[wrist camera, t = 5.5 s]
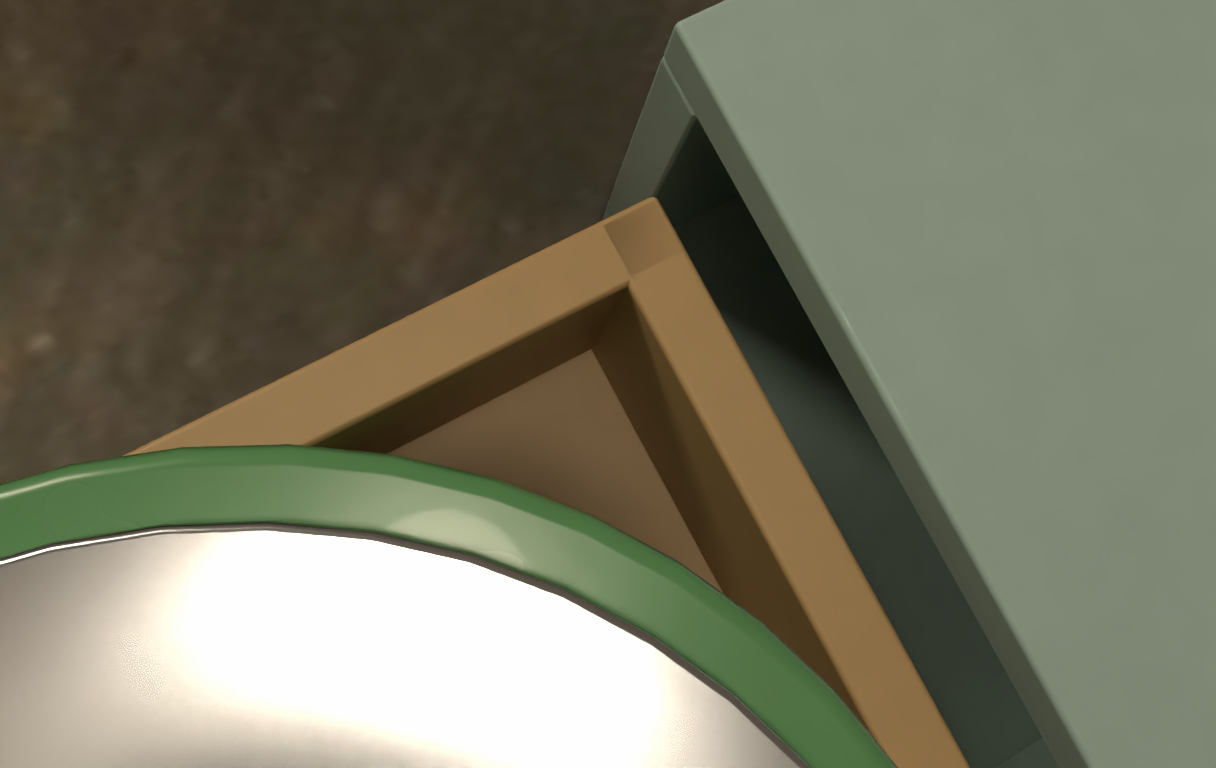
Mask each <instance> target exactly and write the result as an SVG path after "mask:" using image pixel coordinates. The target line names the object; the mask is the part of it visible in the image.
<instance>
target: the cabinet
mask: <svg viewBox="0 0 1216 768" xmlns="http://www.w3.org/2000/svg"><path fill="white" fill-rule="evenodd" d="M649 197H655V198H656V199H658V201H659V202H660V204H661V206H662V208H663V210H664V211H665V213H666V215H667V217H668V219H669V221H670V222H671V224H672V226H673V228H674V230H675V231H676V233H677V235H678V237H679V239H680V241H681V242H682V244H683V246H684V248H685V250H686V252H687V253H688V255H689V257H690V259H691V261H692V263H693V264H694V266H695V268H696V270H697V272H698V273H699V275H700V277H701V279H702V281H703V283H704V284H705V286H706V288H707V290H708V292H709V293H710V295H711V297H712V299H713V301H714V303H715V304H716V306H717V308H718V310H719V312H720V313H721V315H722V317H723V319H724V321H725V323H726V324H727V326H728V328H729V330H730V332H731V333H732V335H733V337H734V339H735V341H736V343H737V344H738V346H739V348H740V350H741V352H742V353H743V355H744V357H745V359H746V361H747V363H748V364H749V366H750V368H751V370H752V372H753V373H754V375H755V377H756V379H757V381H758V383H759V384H760V386H761V388H762V390H763V392H764V393H765V395H766V397H767V399H768V401H769V402H770V404H771V406H772V408H773V410H774V412H775V413H776V415H777V417H778V419H779V421H780V422H781V424H782V426H783V428H784V430H785V432H786V433H787V435H788V437H789V439H790V441H791V442H792V444H793V446H794V448H795V450H796V452H797V453H798V455H799V457H800V459H801V461H802V462H803V464H804V466H805V468H806V470H807V472H808V473H809V475H810V477H811V479H812V481H813V482H814V484H815V486H816V488H817V490H818V492H819V493H820V495H821V497H822V499H823V501H824V502H825V504H826V506H827V508H828V510H829V512H830V513H831V515H832V517H833V519H834V521H835V522H836V524H837V526H838V528H839V530H840V532H841V533H842V535H843V537H844V539H845V541H846V542H847V544H848V546H849V548H850V550H851V552H852V553H853V555H854V557H855V559H856V561H857V562H858V564H859V566H860V568H861V570H862V572H863V573H864V575H865V577H866V579H867V581H868V582H869V584H870V586H871V588H872V590H873V592H874V593H875V595H876V597H877V599H878V601H879V602H880V604H881V606H882V608H883V610H884V612H885V613H886V615H887V617H888V619H889V621H890V622H891V624H892V626H893V628H894V630H895V632H896V633H897V635H898V637H899V639H900V641H901V642H902V644H903V646H904V648H905V650H906V652H907V653H908V655H909V657H910V659H911V661H912V662H913V664H914V666H915V668H916V670H917V671H918V673H919V675H920V677H921V679H922V681H923V682H924V684H925V686H926V688H927V690H928V691H929V693H930V695H931V697H932V699H933V701H934V702H935V704H936V706H937V708H938V710H939V711H940V713H941V715H942V717H943V719H944V721H945V722H946V724H947V726H948V728H949V730H950V731H951V733H952V735H953V737H954V739H955V741H956V742H957V744H958V746H959V748H960V750H961V751H962V753H963V755H964V757H965V759H966V761H967V762H968V764H969V766H970V768H1216V0H725V1H722V2H720V3H718V4H716V5H714V6H712V7H709V8H707V9H705V10H703V11H701V12H699V13H696V14H694V15H692V16H690V17H688V18H685V19H683V20H681V21H679V22H678V23H677V24H676V25H675V26H674V29H673V31H672V34H671V37H670V39H669V42H668V45H667V47H666V50H665V53H664V57H663V58H662V59H661V61H660V64H659V67H658V69H657V72H656V75H655V77H654V80H653V83H652V85H651V88H650V91H649V93H648V96H647V99H646V101H645V104H644V107H643V110H642V112H641V115H640V118H639V120H638V123H637V126H636V128H635V131H634V134H633V136H632V139H631V142H630V144H629V147H628V150H627V152H626V155H625V158H624V160H623V163H622V166H621V169H620V171H619V174H618V177H617V179H616V182H615V185H614V187H613V190H612V193H611V195H610V198H609V201H608V203H607V206H606V210H605V212H604V215H603V218H602V220H604V219H606V218H608V217H610V216H612V215H615V214H617V213H619V212H621V211H623V210H625V209H627V208H629V207H631V206H633V205H635V204H637V203H639V202H641V201H643V200H645V199H647V198H649ZM602 220H601V221H602Z"/></svg>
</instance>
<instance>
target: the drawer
mask: <svg viewBox="0 0 1216 768" xmlns="http://www.w3.org/2000/svg"><path fill="white" fill-rule="evenodd" d="M279 444H294V445H304V446H314V447H324V448H333V449H343V450H353V451H363V452H373V453H383V454H393V455H399V456H403V457H407V458H411V459H416V460H420V461H424V462H428V463H433V464H437V465H441V466H445V467H450V468H454V469H458V470H463V471H467V472H471V473H475V474H480V475H484V476H488V477H492V478H496V479H499V480H502V481H504V482H507V483H510V484H512V485H515V486H518V487H520V488H523V489H525V490H528V491H531V492H533V493H536V494H539V495H541V496H544V497H547V498H549V499H552V500H555V501H557V502H560V503H562V504H565V505H568V506H570V507H573V508H576V509H578V510H581V511H584V512H586V513H589V514H591V515H593V516H595V517H597V518H599V519H601V520H602V521H604V522H606V523H608V524H610V525H612V526H614V527H615V528H617V529H619V530H621V531H623V532H625V533H627V534H628V535H630V536H632V537H634V538H636V539H638V540H640V541H641V542H643V543H645V544H647V545H649V546H651V547H653V548H655V549H656V550H658V551H660V552H662V553H664V554H666V555H668V556H669V557H671V558H673V559H675V560H677V561H679V562H680V563H682V564H683V565H684V566H686V567H687V568H689V569H690V570H691V571H693V572H694V573H696V574H697V575H698V576H700V577H701V578H702V579H704V580H705V581H707V582H708V583H709V584H711V585H712V586H714V587H715V588H716V589H718V590H719V591H720V592H722V593H723V594H725V595H726V596H727V597H729V598H730V599H732V600H733V601H734V602H736V603H737V604H738V605H740V606H741V607H743V608H744V609H745V610H747V611H748V612H750V613H751V614H752V615H754V616H755V617H756V618H758V619H759V620H761V621H762V622H763V623H764V624H765V625H766V626H767V627H768V628H769V629H770V630H771V631H772V632H773V633H775V634H776V635H777V636H778V637H779V638H780V639H781V640H782V641H783V642H784V643H785V644H786V645H787V646H788V647H789V648H790V649H791V650H793V651H794V652H795V653H796V654H797V655H798V656H799V657H800V658H801V659H802V660H803V661H804V662H805V663H806V664H807V665H808V666H810V667H811V668H812V669H813V670H814V671H815V672H816V673H817V674H818V675H819V676H820V677H821V678H822V679H823V680H824V681H825V682H826V683H828V684H829V685H830V686H831V687H832V688H833V689H834V690H835V691H836V692H837V694H838V695H839V696H840V697H841V698H842V700H843V701H844V702H845V703H846V705H847V706H848V707H849V708H850V709H851V711H852V712H853V713H854V714H855V716H856V717H857V718H858V719H859V720H860V722H861V723H862V724H863V725H864V727H865V728H866V729H867V730H868V731H869V733H870V734H871V735H872V736H873V738H874V739H875V740H876V741H877V742H878V744H879V745H880V746H881V747H882V749H883V750H884V751H885V752H886V753H887V755H888V756H889V757H890V758H891V760H892V761H893V762H894V763H895V764H896V766H897V767H898V768H970V766H969V764H968V762H967V761H966V759H965V757H964V755H963V753H962V751H961V750H960V748H959V746H958V744H957V742H956V741H955V739H954V737H953V735H952V733H951V731H950V730H949V728H948V726H947V724H946V722H945V721H944V719H943V717H942V715H941V713H940V711H939V710H938V708H937V706H936V704H935V702H934V701H933V699H932V697H931V695H930V693H929V691H928V690H927V688H926V686H925V684H924V682H923V681H922V679H921V677H920V675H919V673H918V671H917V670H916V668H915V666H914V664H913V662H912V661H911V659H910V657H909V655H908V653H907V652H906V650H905V648H904V646H903V644H902V642H901V641H900V639H899V637H898V635H897V633H896V632H895V630H894V628H893V626H892V624H891V622H890V621H889V619H888V617H887V615H886V613H885V612H884V610H883V608H882V606H881V604H880V602H879V601H878V599H877V597H876V595H875V593H874V592H873V590H872V588H871V586H870V584H869V582H868V581H867V579H866V577H865V575H864V573H863V572H862V570H861V568H860V566H859V564H858V562H857V561H856V559H855V557H854V555H853V553H852V552H851V550H850V548H849V546H848V544H847V542H846V541H845V539H844V537H843V535H842V533H841V532H840V530H839V528H838V526H837V524H836V522H835V521H834V519H833V517H832V515H831V513H830V512H829V510H828V508H827V506H826V504H825V502H824V501H823V499H822V497H821V495H820V493H819V492H818V490H817V488H816V486H815V484H814V482H813V481H812V479H811V477H810V475H809V473H808V472H807V470H806V468H805V466H804V464H803V462H802V461H801V459H800V457H799V455H798V453H797V452H796V450H795V448H794V446H793V444H792V442H791V441H790V439H789V437H788V435H787V433H786V432H785V430H784V428H783V426H782V424H781V422H780V421H779V419H778V417H777V415H776V413H775V412H774V410H773V408H772V406H771V404H770V402H769V401H768V399H767V397H766V395H765V393H764V392H763V390H762V388H761V386H760V384H759V383H758V381H757V379H756V377H755V375H754V373H753V372H752V370H751V368H750V366H749V364H748V363H747V361H746V359H745V357H744V355H743V353H742V352H741V350H740V348H739V346H738V344H737V343H736V341H735V339H734V337H733V335H732V333H731V332H730V330H729V328H728V326H727V324H726V323H725V321H724V319H723V317H722V315H721V313H720V312H719V310H718V308H717V306H716V304H715V303H714V301H713V299H712V297H711V295H710V293H709V292H708V290H707V288H706V286H705V284H704V283H703V281H702V279H701V277H700V275H699V273H698V272H697V270H696V268H695V266H694V264H693V263H692V261H691V259H690V257H689V255H688V253H687V252H686V250H685V248H684V246H683V244H682V242H681V241H680V239H679V237H678V235H677V233H676V231H675V230H674V228H673V226H672V224H671V222H670V221H669V219H668V217H667V215H666V213H665V211H664V210H663V208H662V206H661V204H660V202H659V201H658V199H656V198H655V197H649V198H647V199H645V200H643V201H641V202H639V203H637V204H635V205H633V206H631V207H629V208H627V209H625V210H623V211H621V212H619V213H617V214H615V215H612V216H610V217H608V218H606V219H604V220H602V221H600V222H598V223H596V224H594V225H592V226H590V227H588V228H586V229H584V230H582V231H580V232H578V233H576V234H574V235H572V236H570V237H568V238H566V239H564V240H562V241H559V242H557V243H555V244H553V245H551V246H549V247H547V248H545V249H543V250H541V251H539V252H537V253H535V254H533V255H531V256H529V257H527V258H525V259H523V260H521V261H519V262H517V263H515V264H513V265H511V266H509V267H506V268H504V269H502V270H500V271H498V272H496V273H494V274H492V275H490V276H488V277H486V278H484V279H482V280H480V281H478V282H476V283H474V284H472V285H470V286H468V287H466V288H464V289H462V290H460V291H458V292H456V293H453V294H451V295H449V296H447V297H445V298H443V299H441V300H439V301H437V302H435V303H433V304H431V305H429V306H427V307H425V308H423V309H421V310H419V311H417V312H415V313H413V314H411V315H409V316H407V317H405V318H403V319H400V320H398V321H396V322H394V323H392V324H390V325H388V326H386V327H384V328H382V329H380V330H378V331H376V332H374V333H372V334H370V335H368V336H366V337H364V338H362V339H360V340H358V341H356V342H354V343H352V344H350V345H347V346H345V347H343V348H341V349H339V350H337V351H335V352H333V353H331V354H329V355H327V356H325V357H323V358H321V359H319V360H317V361H315V362H313V363H311V364H309V365H307V366H305V367H303V368H301V369H299V370H297V371H295V372H292V373H290V374H288V375H286V376H284V377H282V378H280V379H278V380H276V381H274V382H272V383H270V384H268V385H266V386H264V387H262V388H260V389H258V390H256V391H254V392H252V393H250V394H248V395H246V396H244V397H242V398H239V399H237V400H235V401H233V402H231V403H229V404H227V405H225V406H223V407H221V408H219V409H217V410H215V411H213V412H211V413H209V414H207V415H205V416H203V417H201V418H199V419H197V420H195V421H193V422H191V423H189V424H186V425H184V426H182V427H180V428H178V429H176V430H174V431H172V432H170V433H168V434H166V435H164V436H162V437H160V438H158V439H156V440H154V441H152V442H150V443H148V444H146V445H144V446H142V447H140V448H138V449H136V450H133V451H131V452H129V453H127V454H125V455H123V456H127V455H134V454H140V453H147V452H153V451H160V450H166V449H173V448H180V447H203V446H241V445H279Z"/></svg>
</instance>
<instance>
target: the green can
mask: <svg viewBox="0 0 1216 768" xmlns="http://www.w3.org/2000/svg"><path fill="white" fill-rule="evenodd" d="M0 768H898V767H897V766H896V764H895V763H894V762H893V761H892V760H891V758H890V757H889V756H888V755H887V753H886V752H885V751H884V750H883V749H882V747H881V746H880V745H879V744H878V742H877V741H876V740H875V739H874V738H873V736H872V735H871V734H870V733H869V731H868V730H867V729H866V728H865V727H864V725H863V724H862V723H861V722H860V720H859V719H858V718H857V717H856V716H855V714H854V713H853V712H852V711H851V709H850V708H849V707H848V706H847V705H846V703H845V702H844V701H843V700H842V698H841V697H840V696H839V695H838V694H837V692H836V691H835V690H834V689H833V688H832V687H831V686H830V685H829V684H828V683H826V682H825V681H824V680H823V679H822V678H821V677H820V676H819V675H818V674H817V673H816V672H815V671H814V670H813V669H812V668H811V667H810V666H808V665H807V664H806V663H805V662H804V661H803V660H802V659H801V658H800V657H799V656H798V655H797V654H796V653H795V652H794V651H793V650H791V649H790V648H789V647H788V646H787V645H786V644H785V643H784V642H783V641H782V640H781V639H780V638H779V637H778V636H777V635H776V634H775V633H773V632H772V631H771V630H770V629H769V628H768V627H767V626H766V625H765V624H764V623H763V622H762V621H761V620H759V619H758V618H756V617H755V616H754V615H752V614H751V613H750V612H748V611H747V610H745V609H744V608H743V607H741V606H740V605H738V604H737V603H736V602H734V601H733V600H732V599H730V598H729V597H727V596H726V595H725V594H723V593H722V592H720V591H719V590H718V589H716V588H715V587H714V586H712V585H711V584H709V583H708V582H707V581H705V580H704V579H702V578H701V577H700V576H698V575H697V574H696V573H694V572H693V571H691V570H690V569H689V568H687V567H686V566H684V565H683V564H682V563H680V562H679V561H677V560H675V559H673V558H671V557H669V556H668V555H666V554H664V553H662V552H660V551H658V550H656V549H655V548H653V547H651V546H649V545H647V544H645V543H643V542H641V541H640V540H638V539H636V538H634V537H632V536H630V535H628V534H627V533H625V532H623V531H621V530H619V529H617V528H615V527H614V526H612V525H610V524H608V523H606V522H604V521H602V520H601V519H599V518H597V517H595V516H593V515H591V514H589V513H586V512H584V511H581V510H578V509H576V508H573V507H570V506H568V505H565V504H562V503H560V502H557V501H555V500H552V499H549V498H547V497H544V496H541V495H539V494H536V493H533V492H531V491H528V490H525V489H523V488H520V487H518V486H515V485H512V484H510V483H507V482H504V481H502V480H499V479H496V478H492V477H488V476H484V475H480V474H475V473H471V472H467V471H463V470H458V469H454V468H450V467H445V466H441V465H437V464H433V463H428V462H424V461H420V460H416V459H411V458H407V457H403V456H399V455H393V454H383V453H373V452H363V451H353V450H343V449H333V448H324V447H314V446H304V445H294V444H279V445H241V446H203V447H180V448H173V449H166V450H160V451H153V452H147V453H140V454H134V455H127V456H120V457H114V458H107V459H101V460H94V461H87V462H81V463H74V464H70V465H66V466H63V467H59V468H55V469H52V470H48V471H45V472H41V473H38V474H34V475H30V476H27V477H23V478H20V479H16V480H12V481H9V482H5V483H2V484H0Z"/></svg>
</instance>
